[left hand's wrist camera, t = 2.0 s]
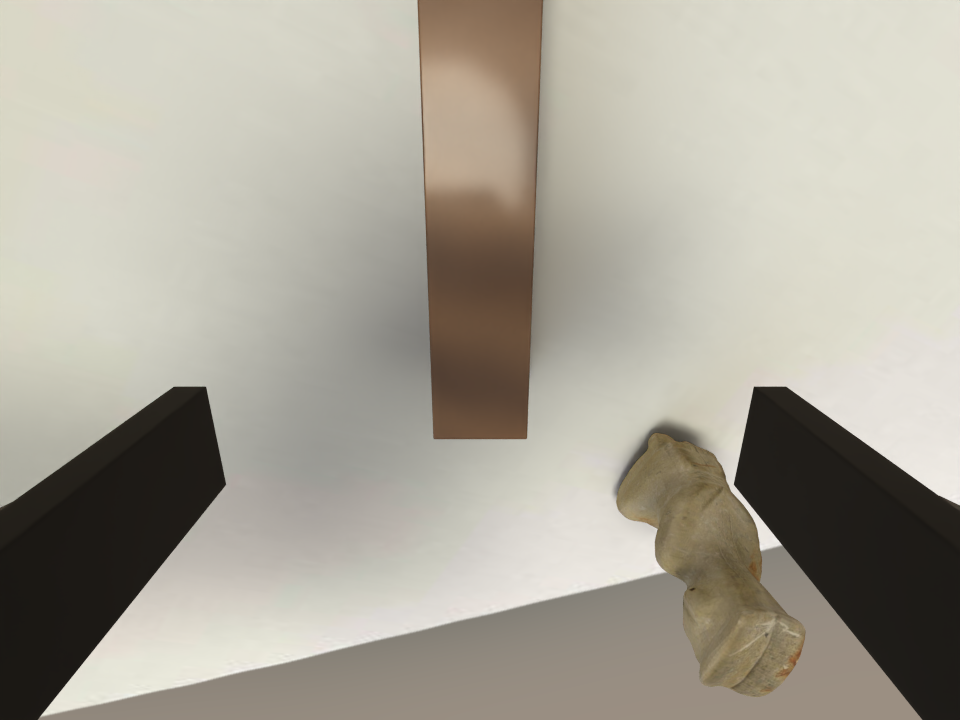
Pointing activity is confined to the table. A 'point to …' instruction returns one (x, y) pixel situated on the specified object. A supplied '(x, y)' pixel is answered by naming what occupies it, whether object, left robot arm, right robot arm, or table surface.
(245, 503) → the table surface
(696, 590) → the sculpture
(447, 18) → the post
